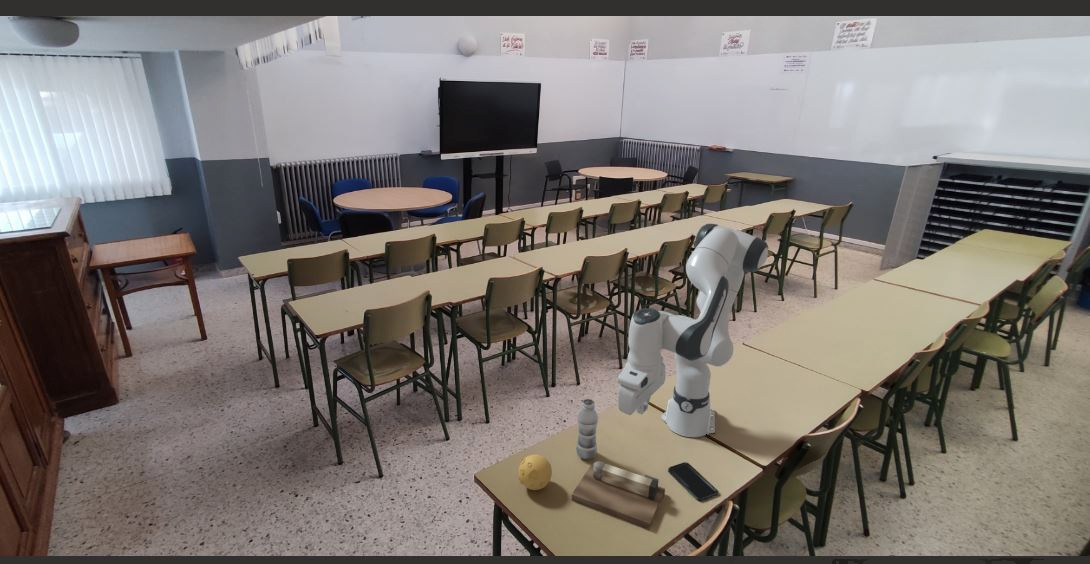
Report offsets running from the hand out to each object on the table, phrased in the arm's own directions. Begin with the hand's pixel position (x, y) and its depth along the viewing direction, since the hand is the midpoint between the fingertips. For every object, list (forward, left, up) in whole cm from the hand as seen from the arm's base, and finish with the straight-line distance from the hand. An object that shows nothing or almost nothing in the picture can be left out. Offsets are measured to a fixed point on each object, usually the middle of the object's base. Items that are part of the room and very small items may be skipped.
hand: (642, 411), depth 145 cm
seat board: (+5, -3, -27) cm, 28 cm away
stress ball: (+13, -27, -27) cm, 40 cm away
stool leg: (+2, -3, -25) cm, 25 cm away
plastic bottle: (-7, -19, -27) cm, 34 cm away
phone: (-11, +14, -28) cm, 33 cm away
